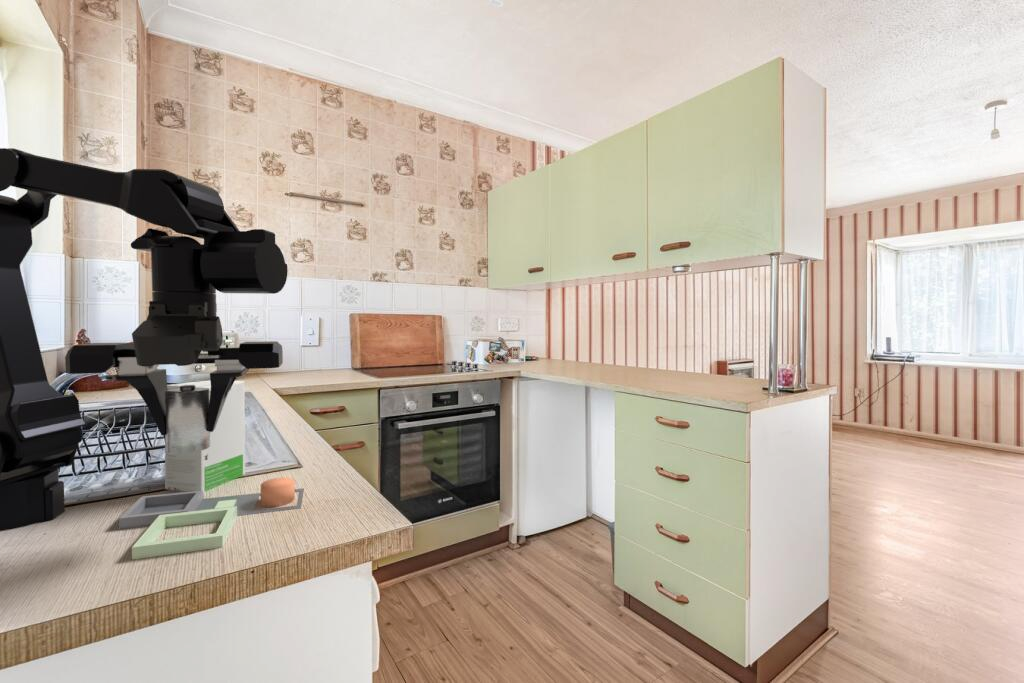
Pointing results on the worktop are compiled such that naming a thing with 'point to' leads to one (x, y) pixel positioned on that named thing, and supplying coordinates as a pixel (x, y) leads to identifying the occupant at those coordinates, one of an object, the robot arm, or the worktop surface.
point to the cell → (187, 419)
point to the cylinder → (277, 492)
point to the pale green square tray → (153, 548)
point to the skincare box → (212, 448)
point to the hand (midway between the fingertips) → (188, 432)
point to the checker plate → (190, 506)
